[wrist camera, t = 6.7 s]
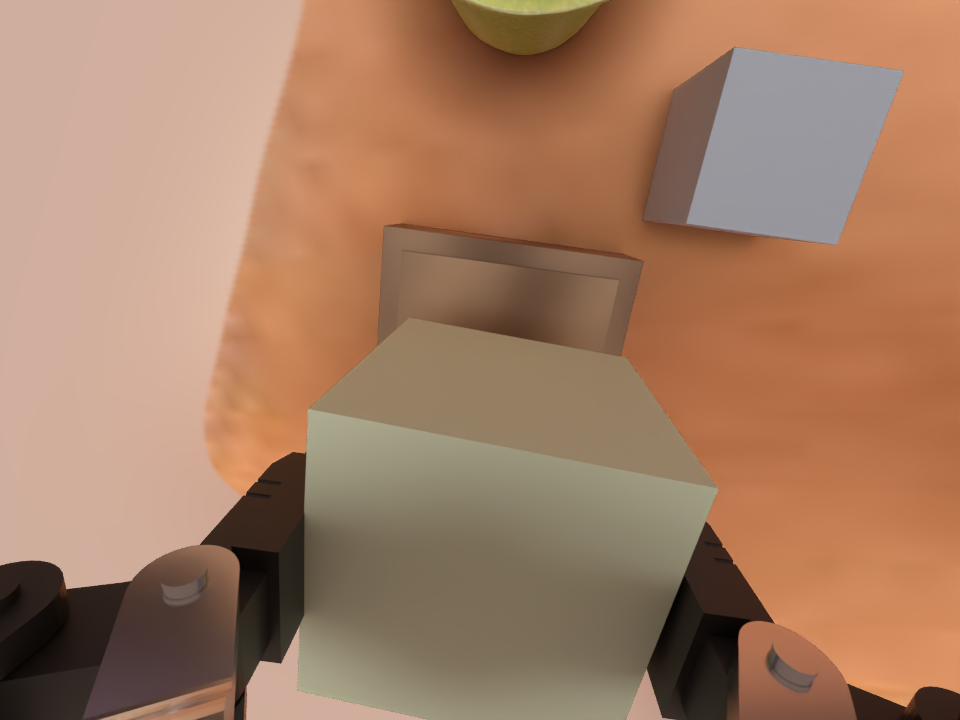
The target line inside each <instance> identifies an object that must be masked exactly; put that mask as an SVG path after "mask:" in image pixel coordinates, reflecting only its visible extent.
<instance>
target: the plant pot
mask: <svg viewBox="0 0 960 720" xmlns="http://www.w3.org/2000/svg"><path fill="white" fill-rule="evenodd" d="M450 1H451V2H452V4H453V6H454V7H455V9H456V11H457V12H458V14H459V15H460V17H461V18H462V20H463V21H464V23H465V24H466V26H467V27H468V28H469V30H470V31H471V32H472V33H473V34H474V35H475V36H476V37H477V38H479V39H480V40H482V41H483V42H485V43H487V44H489V45H491V46H492V47H494V48H497V49H499V50H502V51H505V52H508V53H511V54H516V55H533V54H538V53H542V52H546V51H549V50H551V49H554V48H556V47H558V46H560V45H561V44H563V43H564V42H566V41H567V40H568V39H570V38H571V37H572V36H573V35H574V34H576V33H577V32H578V31H579V30H580V29H581V28H582V27H583V26H584V24H585V23H586V22H587V21H588V20H589V18H590V17H591V16H592V15H593V14H594V13H595V11H596V10H597V9H598V8H599V7H600V5H602V4H604V3H606V2H608V1H611V0H450Z"/></svg>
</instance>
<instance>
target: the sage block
mask: <svg viewBox="0 0 960 720" xmlns="http://www.w3.org/2000/svg"><path fill="white" fill-rule="evenodd" d="M718 489H719V488H718V487H717V486H716V484H715V483H714V481H713V480H712V478H711V477H710V476H709V474H708V473H707V471H706V470H705V469H704V467H703V466H702V464H701V463H700V461H699V460H698V459H697V457H696V456H695V454H694V453H693V451H692V450H691V449H690V447H689V446H688V444H687V443H686V441H685V440H684V439H683V437H682V436H681V434H680V433H679V431H678V430H677V429H676V427H675V426H674V424H673V423H672V421H671V420H670V419H669V417H668V416H667V414H666V413H665V411H664V410H663V409H662V407H661V406H660V404H659V403H658V401H657V400H656V399H655V397H654V396H653V394H652V393H651V392H650V390H649V389H648V387H647V386H646V384H645V383H644V382H643V380H642V379H641V377H640V376H639V374H638V373H637V372H636V370H635V369H634V367H633V366H632V364H631V363H630V362H629V360H628V359H627V358H626V357H620V356H615V355H609V354H604V353H598V352H593V351H588V350H582V349H577V348H571V347H566V346H560V345H555V344H550V343H544V342H539V341H533V340H528V339H522V338H517V337H512V336H506V335H501V334H495V333H490V332H484V331H479V330H474V329H468V328H463V327H457V326H452V325H446V324H441V323H436V322H430V321H425V320H419V319H414V318H408V319H407V320H406V321H405V322H404V323H403V324H402V325H401V326H399V327H398V328H397V329H396V330H395V331H394V332H393V333H392V334H391V335H390V336H388V337H387V338H386V339H385V340H384V341H383V342H382V343H381V344H380V345H378V346H377V347H376V348H375V349H374V350H373V351H372V352H371V353H370V354H368V355H367V356H366V357H365V358H364V359H363V360H362V361H361V362H360V363H358V364H357V365H356V366H355V367H354V368H353V369H352V370H351V371H350V372H348V373H347V374H346V375H345V376H344V377H343V378H342V379H341V380H340V381H338V382H337V383H336V384H335V385H334V386H333V387H332V388H331V389H330V390H328V391H327V392H326V393H325V394H324V395H323V396H322V397H321V398H320V399H319V400H317V401H316V402H315V403H314V404H313V405H312V406H311V407H310V408H309V409H308V424H307V450H306V475H305V501H304V617H303V619H302V621H301V623H300V631H299V656H298V657H299V658H298V682H297V691H301V692H305V693H310V694H315V695H319V696H323V697H328V698H332V699H337V700H341V701H346V702H350V703H355V704H360V705H364V706H369V707H373V708H378V709H382V710H387V711H391V712H396V713H400V714H405V715H409V716H414V717H418V718H423V719H427V720H626V718H627V716H628V713H629V711H630V708H631V706H632V703H633V701H634V698H635V696H636V693H637V691H638V688H639V685H640V683H641V681H642V678H643V676H644V673H645V671H646V668H647V666H648V663H649V661H650V658H651V656H652V653H653V651H654V648H655V646H656V643H657V641H658V638H659V636H660V634H661V631H662V629H663V626H664V624H665V621H666V619H667V616H668V614H669V611H670V609H671V606H672V604H673V601H674V599H675V596H676V594H677V591H678V589H679V586H680V584H681V581H682V579H683V576H684V574H685V571H686V569H687V566H688V564H689V561H690V559H691V556H692V554H693V551H694V549H695V546H696V544H697V541H698V539H699V536H700V534H701V531H702V529H703V526H704V524H705V521H706V519H707V516H708V514H709V511H710V509H711V506H712V504H713V502H714V499H715V497H716V494H717V492H718Z"/></svg>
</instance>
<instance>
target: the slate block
mask: <svg viewBox="0 0 960 720" xmlns="http://www.w3.org/2000/svg"><path fill="white" fill-rule="evenodd" d="M903 73H904V71H903V70H895V69H888V68H881V67H874V66H867V65H860V64H853V63H845V62H838V61H831V60H824V59H817V58H810V57H803V56H796V55H788V54H781V53H774V52H767V51H760V50H753V49H746V48H739V47H734V48H733V49H731V50H730V51H728V52H727V53H726V54H724V55H723V56H721V57H720V58H718V59H717V60H716V61H714V62H713V63H711V64H710V65H708V66H707V67H706V68H704V69H703V70H701V71H700V72H698V73H697V74H696V75H694V76H693V77H691V78H690V79H689V80H687V81H686V82H684V83H683V84H681V85H680V86H679V87H677V88H676V89H674V92H673V96H672V100H671V104H670V108H669V112H668V116H667V121H666V125H665V129H664V133H663V137H662V141H661V145H660V149H659V153H658V158H657V162H656V166H655V170H654V174H653V178H652V182H651V186H650V191H649V195H648V199H647V203H646V207H645V211H644V215H643V219H642V220H645V221H652V222H659V223H666V224H673V225H680V226H687V227H694V228H701V229H708V230H715V231H722V232H729V233H736V234H743V235H750V236H757V237H767V238H776V239H785V240H795V241H804V242H813V243H822V244H832V245H837V243H838V241H839V238H840V235H841V233H842V230H843V228H844V225H845V222H846V220H847V217H848V215H849V212H850V210H851V207H852V204H853V202H854V199H855V197H856V194H857V192H858V189H859V186H860V184H861V181H862V179H863V176H864V173H865V171H866V168H867V166H868V163H869V161H870V158H871V155H872V153H873V150H874V148H875V145H876V143H877V140H878V137H879V135H880V132H881V130H882V127H883V124H884V122H885V119H886V117H887V114H888V112H889V109H890V106H891V104H892V101H893V99H894V96H895V94H896V91H897V88H898V86H899V83H900V81H901V78H902V75H903Z"/></svg>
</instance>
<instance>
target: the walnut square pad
mask: <svg viewBox="0 0 960 720" xmlns="http://www.w3.org/2000/svg"><path fill="white" fill-rule="evenodd" d="M643 262H644V261H641V260H638V259H635V258H633V257H630V256H627V255H625V254H619V253H612V252H605V251H597V250H590V249H583V248H576V247H568V246H561V245H554V244H546V243H539V242H532V241H524V240H517V239H510V238H502V237H495V236H488V235H481V234H473V233H466V232H459V231H451V230H444V229H437V228H429V227H422V226H415V225H407V224H395V225H387V226H384V234H383V252H382V270H381V287H380V305H379V323H378V341H377V346H378V345H380V344H381V343H382V342H383V341H384V340H385V339H386V338H387V337H388V336H390V335H391V334H392V333H393V332H394V331H395V330H396V329H397V328H398V327H399V326H401V325H402V324H403V323H404V322H405V321H406V320H407V319H408V318H414V319H419V320H425V321H430V322H436V323H441V324H446V325H452V326H457V327H463V328H468V329H474V330H479V331H484V332H490V333H495V334H501V335H506V336H512V337H517V338H522V339H528V340H533V341H539V342H544V343H550V344H555V345H560V346H566V347H571V348H577V349H582V350H588V351H593V352H598V353H604V354H609V355H615V356H621V352H622V348H623V343H624V339H625V335H626V331H627V327H628V323H629V319H630V315H631V311H632V307H633V303H634V299H635V295H636V290H637V286H638V282H639V278H640V274H641V270H642V266H643Z"/></svg>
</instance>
